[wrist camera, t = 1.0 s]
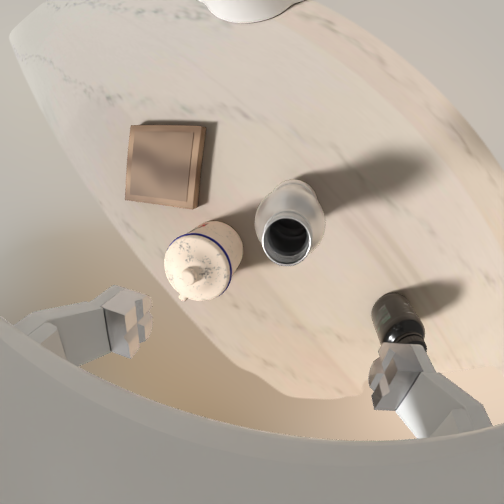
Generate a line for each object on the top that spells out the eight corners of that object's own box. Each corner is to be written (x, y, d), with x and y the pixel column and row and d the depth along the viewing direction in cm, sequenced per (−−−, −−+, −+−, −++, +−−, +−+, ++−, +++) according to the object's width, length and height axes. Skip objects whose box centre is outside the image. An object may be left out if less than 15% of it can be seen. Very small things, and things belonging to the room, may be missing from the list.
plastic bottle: (270, 224, 40) (241, 282, 21) (271, 177, 37) (241, 192, 19) (315, 226, 39) (327, 288, 20) (318, 179, 36) (335, 196, 18)
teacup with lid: (205, 207, 41) (170, 225, 30) (256, 240, 41) (239, 270, 30) (173, 268, 45) (137, 300, 34) (218, 298, 45) (194, 339, 34)
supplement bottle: (415, 303, 39) (442, 345, 28) (390, 333, 42) (409, 379, 31) (387, 284, 39) (412, 325, 28) (362, 316, 42) (376, 364, 31)
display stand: (137, 126, 38) (130, 125, 36) (206, 127, 37) (201, 126, 35) (131, 198, 42) (124, 200, 40) (197, 207, 41) (192, 209, 39)
